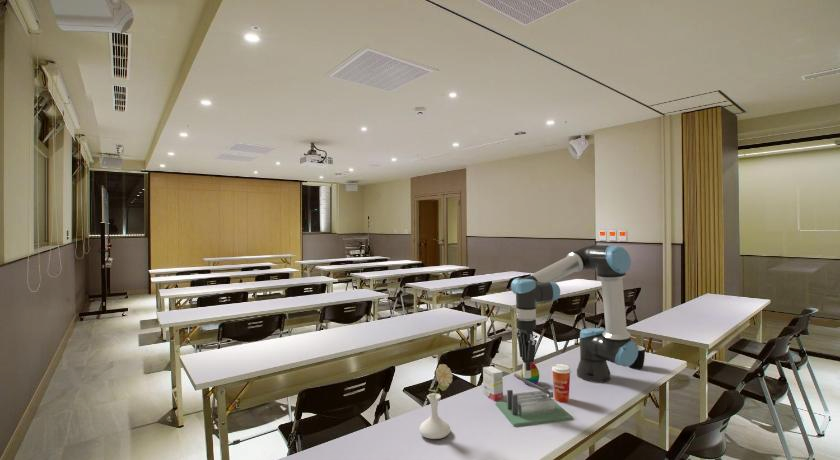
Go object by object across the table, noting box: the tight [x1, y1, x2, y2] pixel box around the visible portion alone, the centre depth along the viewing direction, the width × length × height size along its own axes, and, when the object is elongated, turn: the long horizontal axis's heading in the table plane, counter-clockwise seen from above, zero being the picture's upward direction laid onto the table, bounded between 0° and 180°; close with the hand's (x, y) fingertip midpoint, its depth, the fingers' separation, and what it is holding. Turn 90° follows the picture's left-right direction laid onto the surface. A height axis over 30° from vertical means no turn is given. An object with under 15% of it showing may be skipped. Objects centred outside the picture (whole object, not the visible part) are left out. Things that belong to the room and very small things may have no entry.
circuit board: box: [495, 400, 573, 427], centre depth 159 cm, size 24×18×1 cm
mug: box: [627, 344, 646, 370], centre depth 204 cm, size 12×9×10 cm
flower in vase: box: [418, 363, 454, 440], centre depth 144 cm, size 13×11×25 cm
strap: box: [513, 372, 550, 396], centre depth 159 cm, size 17×3×1 cm, turn 101°
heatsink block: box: [513, 387, 555, 417], centre depth 159 cm, size 15×10×7 cm
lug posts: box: [506, 389, 518, 415], centre depth 157 cm, size 2×5×8 cm, turn 11°
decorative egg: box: [520, 362, 540, 386], centre depth 186 cm, size 8×8×10 cm
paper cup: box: [551, 363, 572, 403], centre depth 169 cm, size 8×8×14 cm
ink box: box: [482, 365, 504, 402], centre depth 173 cm, size 9×5×12 cm, turn 24°
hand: (527, 377), depth 158 cm, fingers closed
